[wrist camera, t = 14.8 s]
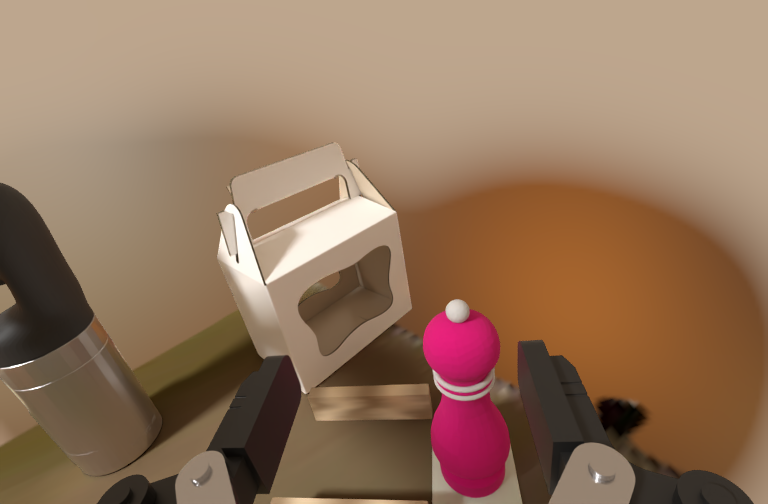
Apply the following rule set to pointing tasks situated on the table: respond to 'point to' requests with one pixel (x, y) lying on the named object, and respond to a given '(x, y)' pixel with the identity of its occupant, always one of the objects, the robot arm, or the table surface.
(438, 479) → the sage pad
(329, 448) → the table surface
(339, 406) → the oak channel
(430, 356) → the pepper mill
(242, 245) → the gable box
